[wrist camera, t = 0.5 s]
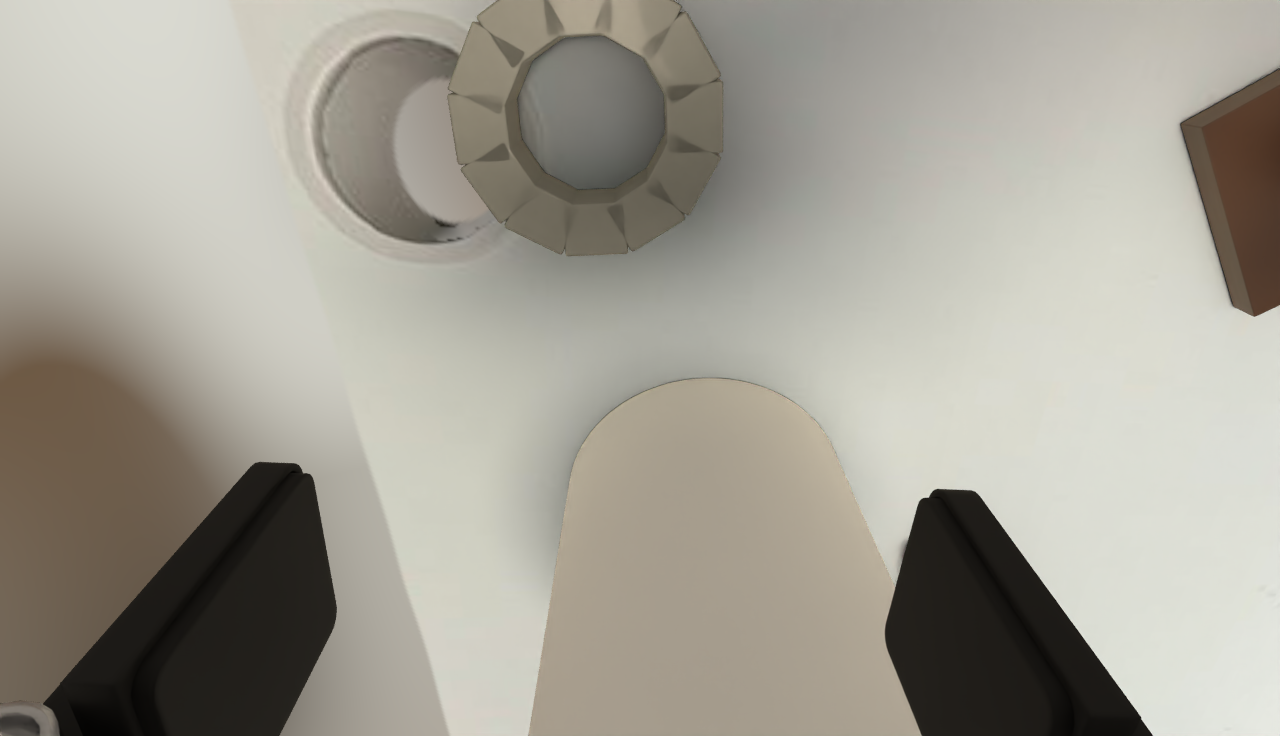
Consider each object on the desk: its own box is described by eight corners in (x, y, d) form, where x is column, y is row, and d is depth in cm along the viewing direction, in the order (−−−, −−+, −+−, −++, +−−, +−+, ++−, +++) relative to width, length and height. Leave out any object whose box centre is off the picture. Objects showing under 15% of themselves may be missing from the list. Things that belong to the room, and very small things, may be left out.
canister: (514, 512, 36) (383, 1011, 18) (693, 322, 31) (761, 734, 13) (713, 638, 39) (771, 1155, 21) (898, 484, 35) (1171, 979, 17)
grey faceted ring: (628, -88, 24) (626, -99, 22) (760, 154, 28) (771, 166, 26) (414, 74, 27) (393, 79, 24) (562, 278, 30) (555, 300, 28)
